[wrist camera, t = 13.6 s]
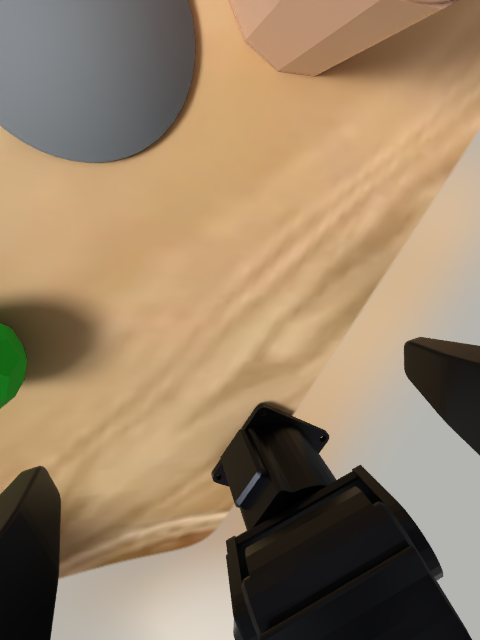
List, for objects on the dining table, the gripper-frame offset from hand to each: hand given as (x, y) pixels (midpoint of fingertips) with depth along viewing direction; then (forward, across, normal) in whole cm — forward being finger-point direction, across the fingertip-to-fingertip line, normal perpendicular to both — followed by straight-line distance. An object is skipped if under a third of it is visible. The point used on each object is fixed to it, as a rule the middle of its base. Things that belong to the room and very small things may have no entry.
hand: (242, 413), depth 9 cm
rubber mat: (+13, +1, -11) cm, 17 cm away
